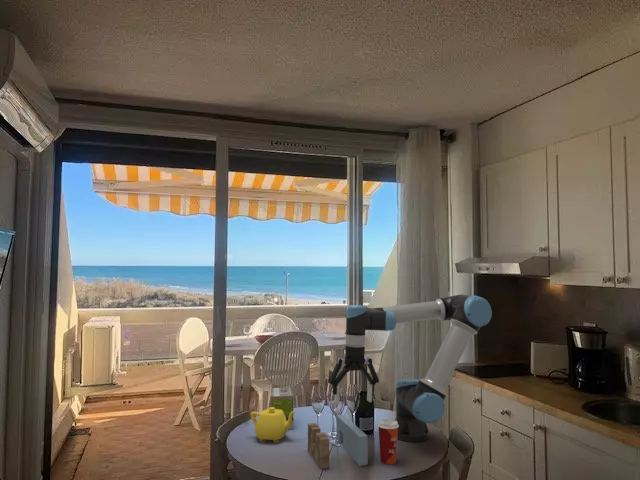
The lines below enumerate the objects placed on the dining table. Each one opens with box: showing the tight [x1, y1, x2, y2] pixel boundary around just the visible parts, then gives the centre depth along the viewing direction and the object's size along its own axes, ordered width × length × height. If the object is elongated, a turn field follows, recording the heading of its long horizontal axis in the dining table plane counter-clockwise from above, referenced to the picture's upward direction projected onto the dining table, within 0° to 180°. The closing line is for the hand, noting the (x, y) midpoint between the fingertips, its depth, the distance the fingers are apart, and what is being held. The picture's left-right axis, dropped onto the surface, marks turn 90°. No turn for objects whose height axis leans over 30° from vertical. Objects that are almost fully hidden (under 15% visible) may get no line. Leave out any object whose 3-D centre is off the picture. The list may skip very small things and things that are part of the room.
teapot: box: [249, 406, 297, 444], centre depth 194 cm, size 13×20×12 cm
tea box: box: [270, 386, 294, 430], centre depth 212 cm, size 15×10×15 cm, turn 6°
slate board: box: [336, 414, 369, 467], centre depth 180 cm, size 26×3×10 cm, turn 16°
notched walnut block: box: [307, 422, 330, 470], centre depth 173 cm, size 18×3×10 cm, turn 16°
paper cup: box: [377, 418, 399, 465], centre depth 171 cm, size 8×8×14 cm
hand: (353, 402), depth 180 cm, fingers open, 13 cm apart
